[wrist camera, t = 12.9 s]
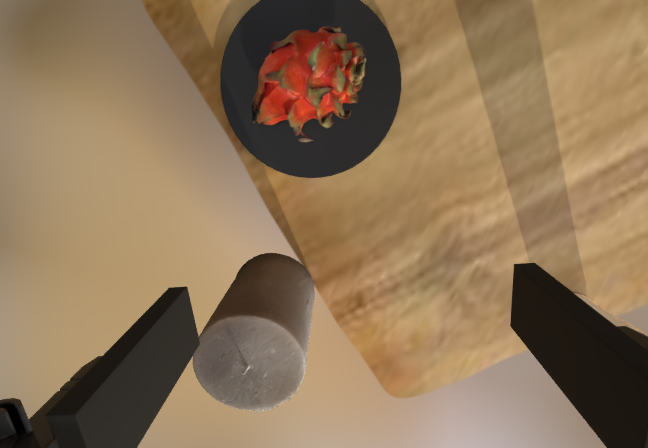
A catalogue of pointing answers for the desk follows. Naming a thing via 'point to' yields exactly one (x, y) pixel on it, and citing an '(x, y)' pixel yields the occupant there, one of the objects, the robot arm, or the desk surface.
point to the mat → (328, 143)
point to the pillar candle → (258, 335)
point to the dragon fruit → (309, 79)
